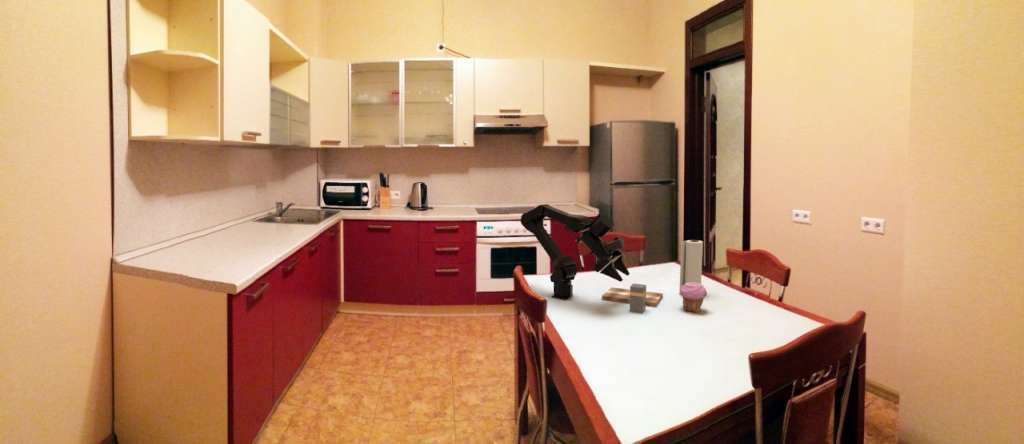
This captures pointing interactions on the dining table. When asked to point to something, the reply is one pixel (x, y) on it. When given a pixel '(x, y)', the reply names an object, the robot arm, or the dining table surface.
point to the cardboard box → (624, 296)
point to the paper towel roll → (691, 262)
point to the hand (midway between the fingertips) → (625, 277)
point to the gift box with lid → (637, 298)
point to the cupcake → (693, 295)
